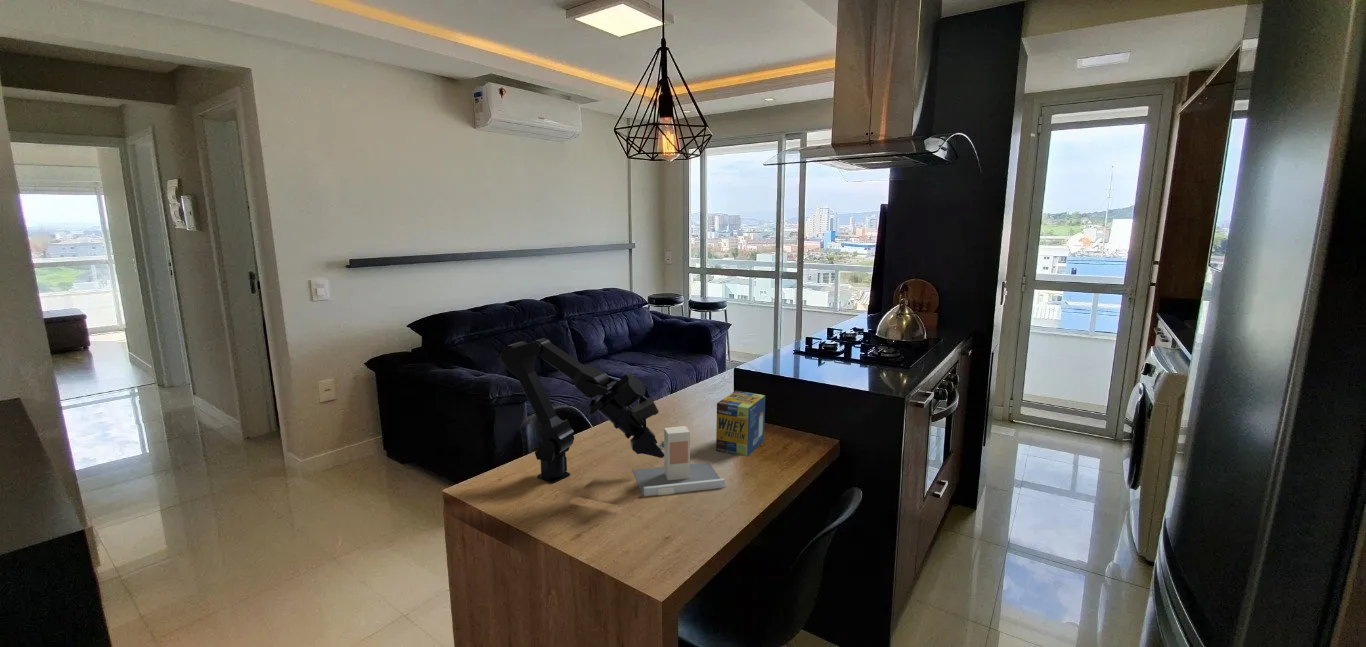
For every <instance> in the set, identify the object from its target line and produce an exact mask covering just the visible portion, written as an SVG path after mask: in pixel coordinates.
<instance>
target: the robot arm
mask: <svg viewBox="0 0 1366 647" xmlns="http://www.w3.org/2000/svg"><path fill="white" fill-rule="evenodd" d="M536 356H537V357H539V358H540V359H542V360H543V361H544V362H546V363H548V364H549V365H550V366H552V368H555V369H556V370H558V371H559V372H560V373H562V374H564V375H565V376H566V377H567V378H569V379H570V380H571V381H572V382H573V384H574V386H575V388H576V390H578V391H579V392H580V393H581V394H582V396H584V397H586V398H589V399H591V398H595V397H598V396H600V397H598V398H596V399H591V400H590V403H589V414H590V415H593V414H595V413H596V412H599V413H600V414H601V415H602V416H603V417H605V418H606V420H608V421H609V422H610V423H612V424H613V427H614V428H615V429H616V430H617V429H619V431H621V432H622V433H623V435H624V436H625V437H626V438H627V439H628V440H629V439H630V438H631V439H630V440H629V441H630V447H631V449H632V451H633V452H635V454H637V455H647V456H652V457H656V458H658V459H659V458H660V459H663V458H664V453H663V452H664V451H663V450H660V448H659V447H658V446H657V445H658V444H657V443H658V440H657V439H656V435H655V433H654V432H653V431H652V430H651V429H650V428H649V427H648V426H647V419H649V418H651V417H652V416H656V415H658V414H659V409H658V407H657V405H656V403H655V401H654V400H653V398H652V397H646V396H645V395H646V386H645V385H644V383H643V382H642V381H641V380H640V379H639V378H637V377H636V376H633V375H632V374H631V373H630V372H628V373H626V374H624V375H623V376H622V377H621V378H620V379H616V378H613V377H611V376H609V375H608V374H607V373H606V372H604V371H603V370H600V369H599V368H596V367H593V366H589V365H586V364H583V363H581V362H580V361H578V360H577V359H575V357H572V356H571V355H570V354H568V353H566V351H564V350H563V349H560V348H559V347H558V346H556V345H555V344H554V343H552V342H551V340H550V339H548V338H545V337H544V338H540V339H536V340H533V341H532V342H529V343H528V342H526V341H523V340H522V341H518V342H514V343H511V344H509V345H505V346H504V347H503V348H502V349H501V353H500V356H499V358H500V360H501V362H502V364H503V365H504V367H505V368H506V369H507V371H508V372H510V374H512V375H514V376H515V377H516V378H517V379H518V381H519V384H520V385H521V387H522V389H523V392H524V394H525V395H526V396H525V397H526V398H527V400H528V401H529V402H528V403H529V404H530V407H531V408H532V411H533V412H534V414H535V416H536V419H537V421H538V422H539V425H540V431H539V436H540V437H539V439H540V441H541V445H540V447H538V448H537V449H536V450H535V451H534V455H535V458H536V460H538V461H540V473H539V474H537V478H539V479H541V480H544V481H546V482H549V483H552V484H553V483H556V482H558V481H560V480H562V479H564V478H567V477H569V476H570V475H571V473H570V472H568V461H567V460H568V458H567V456H566V452H569V450H570V448H571V446H572V445H573V444H574V440H575V435H574V433H575V431H574V430H573V429H572V426H571V425H570V421H569V419H564V420H563V419H561V418H560V417H559V416H558V415H557V414H556V411H555V409H554V407H553V405H552V402H551V401H550V398H549V396H548V394H547V392H546V390H545V388H544V386H543V384H542V381H541V380H540V378H539V376H538V374H537V372H536ZM635 402H637V403H636V404H635V405H634V406H633V407H632V406H631V405H632V404H634V403H635Z"/></svg>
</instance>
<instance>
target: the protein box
mask: <svg viewBox="0 0 1366 647" xmlns="http://www.w3.org/2000/svg"><path fill="white" fill-rule="evenodd" d="M765 417H766V395H764V394H758V393H753V392H747V391H741V390H734V391H733V392H732V393H730V394H728V395H727V396H725V397H724V398H723V399H721V400H719V401H717V403H716V426H715V427H716V435H715V438H716V441H715V442H716V443H715V444H716V445H715V446H716V447H715V448H716V452H721V453H727V454H730V455H735V456H736V455H737V456H744V457H749V456H750V455H751V454H752V453H753V452H754V451H755V450H756V449H757V448H758V447H760V445H761V444H762V443H763V442H765V422H766V421H765Z"/></svg>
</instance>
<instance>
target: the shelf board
mask: <svg viewBox="0 0 1366 647" xmlns="http://www.w3.org/2000/svg"><path fill="white" fill-rule="evenodd" d="M632 472H633V475H634V477H635V479H636V482H637V485H638V488H639V491H640V494H641V496H642V497H652V496H665V495H674V494H678V493H687V492H697V491H704V490H705V491H706V490H714V489H721V488H727V486H726V485H725V482H726V481H725V478H720V476H719V474H718V473H717V472H716V470H715V469H714V467H713V466H712V465H711V462H709V461H708V462H698V463H690V478H686V479H676V480H667V478H666V476H665V474H664V466H659V467H651V468H650V467H649V468H648V467H646V468H638V469H632Z"/></svg>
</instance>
